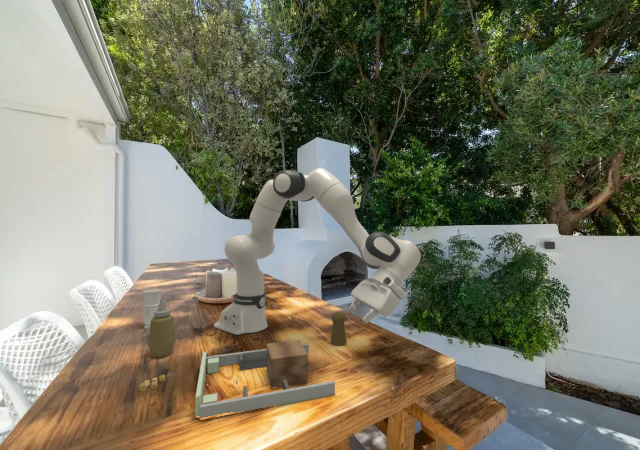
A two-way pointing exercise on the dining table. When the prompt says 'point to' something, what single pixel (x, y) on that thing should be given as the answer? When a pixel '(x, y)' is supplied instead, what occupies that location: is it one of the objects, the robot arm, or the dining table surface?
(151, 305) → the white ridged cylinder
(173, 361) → the dining table surface
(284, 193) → the robot arm
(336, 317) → the olive pawn
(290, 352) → the walnut block
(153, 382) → the dice set
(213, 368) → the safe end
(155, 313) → the squeeze bottle
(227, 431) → the dining table surface
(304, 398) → the grey u-shaped frame
